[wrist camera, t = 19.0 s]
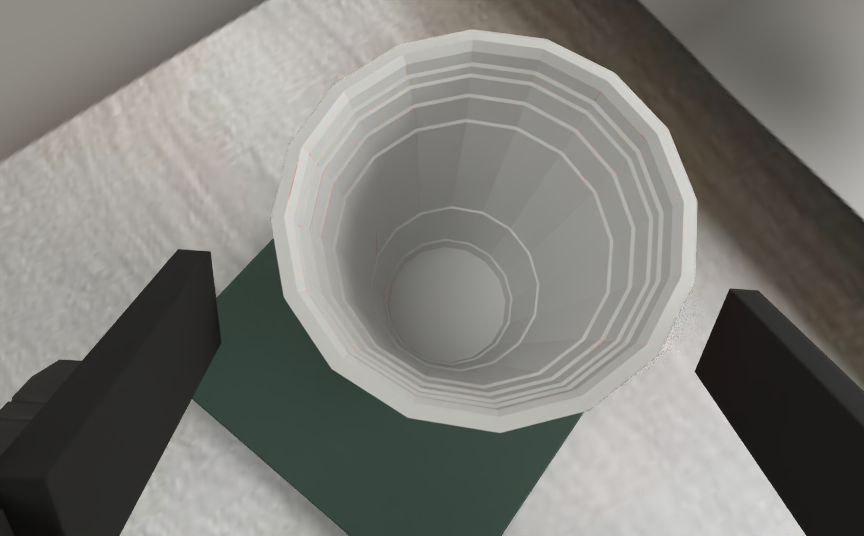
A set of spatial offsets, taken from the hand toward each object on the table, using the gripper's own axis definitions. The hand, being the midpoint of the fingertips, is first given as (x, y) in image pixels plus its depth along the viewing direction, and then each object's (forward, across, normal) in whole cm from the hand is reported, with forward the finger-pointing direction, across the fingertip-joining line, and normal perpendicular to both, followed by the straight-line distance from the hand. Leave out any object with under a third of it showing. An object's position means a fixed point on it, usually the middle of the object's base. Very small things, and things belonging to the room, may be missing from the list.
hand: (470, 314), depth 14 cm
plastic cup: (+9, 0, -6) cm, 11 cm away
